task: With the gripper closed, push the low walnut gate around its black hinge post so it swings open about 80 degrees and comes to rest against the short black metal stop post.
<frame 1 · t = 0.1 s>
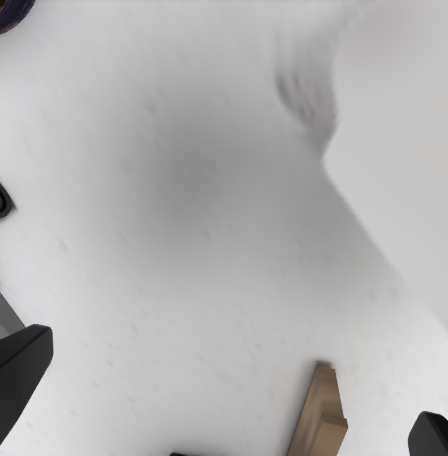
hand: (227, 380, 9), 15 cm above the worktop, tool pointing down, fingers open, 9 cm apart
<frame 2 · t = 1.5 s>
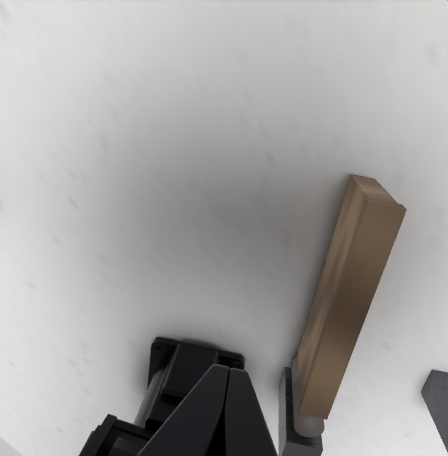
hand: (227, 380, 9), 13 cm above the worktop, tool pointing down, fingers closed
gate: (333, 311, 19), point 3 cm above the worktop, hinge at 0.0°
gate frame: (303, 358, 24), on the worktop
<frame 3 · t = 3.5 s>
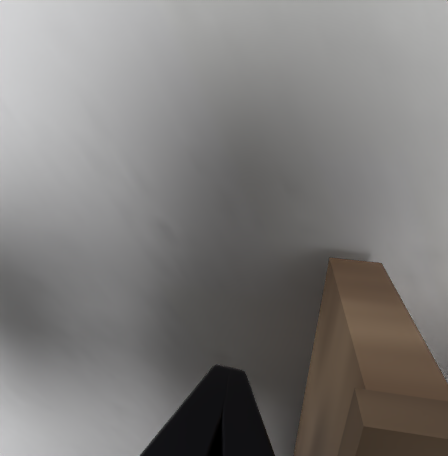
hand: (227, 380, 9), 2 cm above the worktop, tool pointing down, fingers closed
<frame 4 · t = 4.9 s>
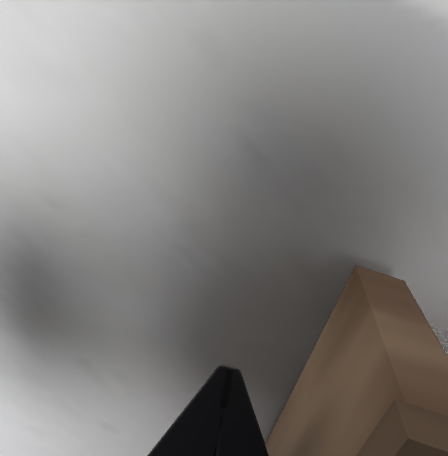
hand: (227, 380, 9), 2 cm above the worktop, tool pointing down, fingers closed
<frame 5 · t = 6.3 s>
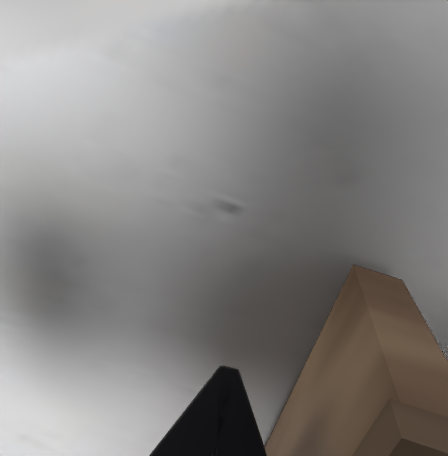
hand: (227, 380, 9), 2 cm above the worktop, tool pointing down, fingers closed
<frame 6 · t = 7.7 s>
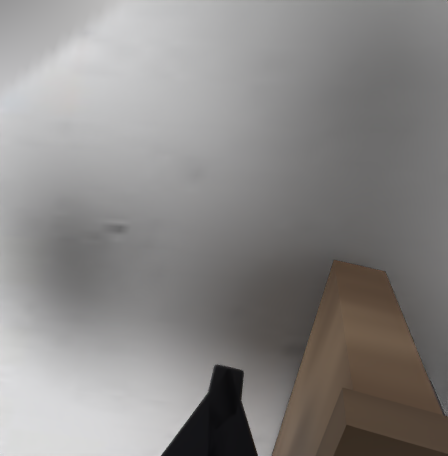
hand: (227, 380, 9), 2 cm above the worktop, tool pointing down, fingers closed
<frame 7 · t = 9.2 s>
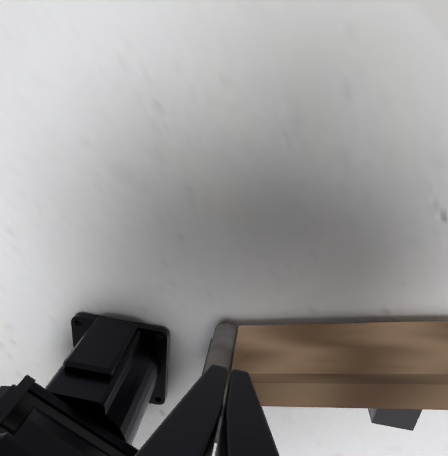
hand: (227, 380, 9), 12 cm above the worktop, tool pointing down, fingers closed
gate: (333, 360, 19), point 3 cm above the worktop, hinge at -76.4°
gate frame: (228, 327, 23), on the worktop
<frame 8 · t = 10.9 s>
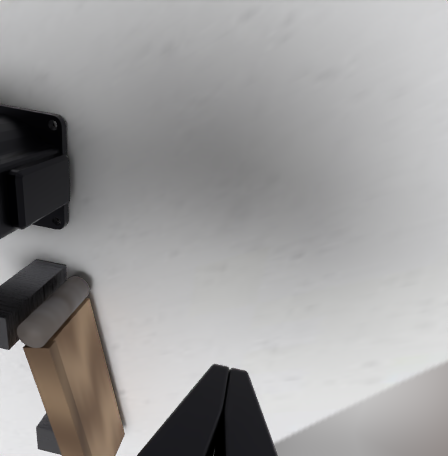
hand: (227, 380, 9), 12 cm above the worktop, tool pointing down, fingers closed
gate: (81, 389, 23), point 3 cm above the worktop, hinge at -76.4°
gate frame: (82, 282, 23), on the worktop
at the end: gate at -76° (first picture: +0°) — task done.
